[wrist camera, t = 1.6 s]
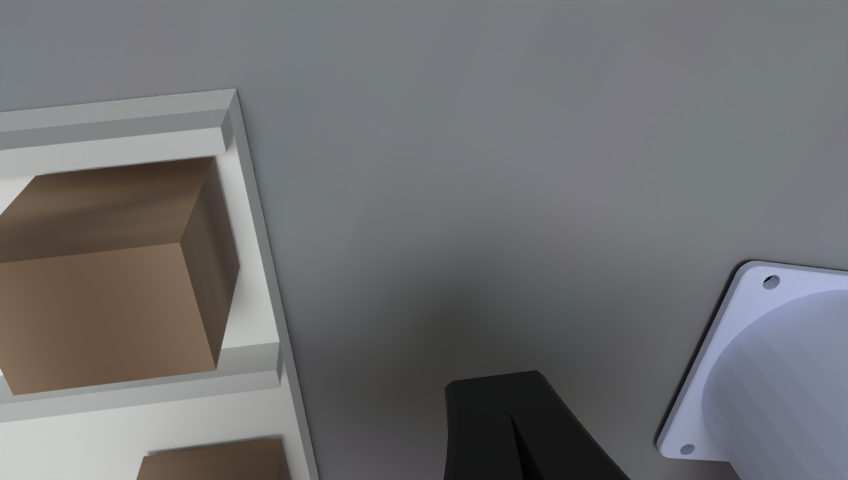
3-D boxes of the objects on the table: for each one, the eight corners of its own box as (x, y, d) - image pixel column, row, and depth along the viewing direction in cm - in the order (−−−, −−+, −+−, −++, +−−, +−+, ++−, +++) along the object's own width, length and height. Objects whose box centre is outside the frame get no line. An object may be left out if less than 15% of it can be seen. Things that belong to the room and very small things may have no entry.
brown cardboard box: (213, 156, 16) (179, 242, 13) (239, 266, 18) (216, 370, 14) (35, 175, 16) (-48, 268, 12) (77, 285, 17) (13, 395, 14)
